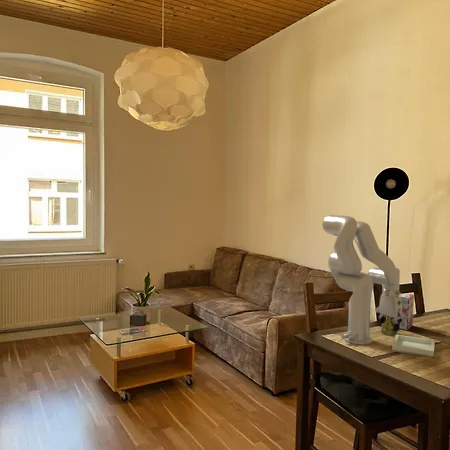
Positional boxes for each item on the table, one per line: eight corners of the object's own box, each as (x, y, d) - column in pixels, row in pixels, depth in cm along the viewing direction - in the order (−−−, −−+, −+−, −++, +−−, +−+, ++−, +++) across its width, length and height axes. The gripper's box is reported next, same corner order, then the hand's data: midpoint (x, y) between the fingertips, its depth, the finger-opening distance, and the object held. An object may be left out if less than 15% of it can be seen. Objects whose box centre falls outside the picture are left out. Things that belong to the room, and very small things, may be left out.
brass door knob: (389, 336, 204) (389, 315, 203) (377, 332, 210) (378, 312, 210) (400, 334, 207) (401, 314, 206) (389, 330, 213) (389, 310, 213)
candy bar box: (408, 330, 213) (409, 298, 212) (397, 329, 216) (398, 296, 215) (413, 325, 222) (414, 294, 221) (403, 323, 225) (404, 292, 224)
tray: (433, 358, 177) (433, 351, 177) (392, 351, 184) (392, 344, 184) (434, 346, 191) (434, 340, 191) (395, 340, 198) (396, 334, 198)
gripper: (411, 295, 202) (410, 332, 203) (380, 288, 217) (379, 323, 218) (401, 297, 198) (400, 335, 199) (370, 290, 212) (369, 325, 214)
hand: (389, 328), depth 208 cm, fingers closed on brass door knob, 7 cm apart
